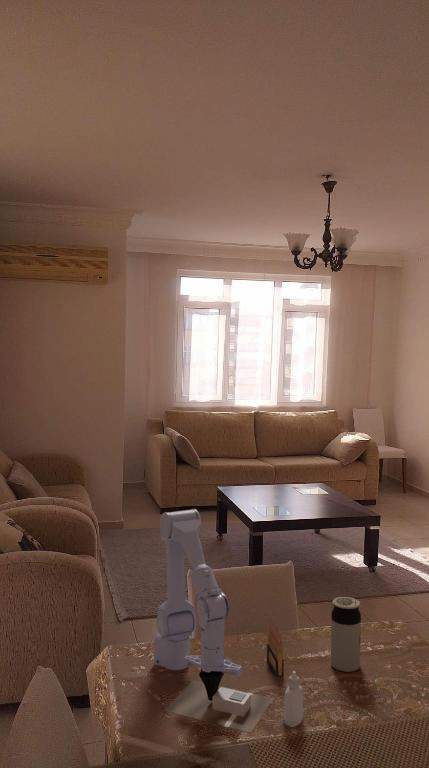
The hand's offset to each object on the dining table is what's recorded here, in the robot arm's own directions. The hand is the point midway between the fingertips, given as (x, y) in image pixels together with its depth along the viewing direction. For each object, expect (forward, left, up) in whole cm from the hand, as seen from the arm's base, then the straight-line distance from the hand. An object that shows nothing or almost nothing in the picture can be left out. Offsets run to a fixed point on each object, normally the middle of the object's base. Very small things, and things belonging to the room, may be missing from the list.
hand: (212, 698), depth 161 cm
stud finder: (+5, 0, -1) cm, 5 cm away
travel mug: (+25, +34, -2) cm, 42 cm away
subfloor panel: (+1, 0, -2) cm, 2 cm away
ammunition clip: (+8, +24, -2) cm, 25 cm away
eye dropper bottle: (+20, +2, -2) cm, 20 cm away
